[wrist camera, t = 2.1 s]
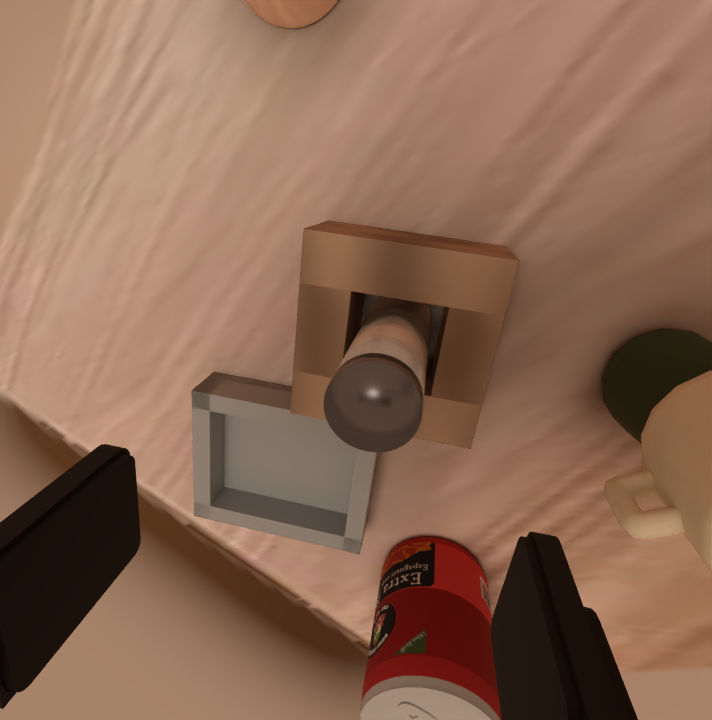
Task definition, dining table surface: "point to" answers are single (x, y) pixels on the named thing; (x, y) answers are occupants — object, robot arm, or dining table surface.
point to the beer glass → (291, 11)
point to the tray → (276, 466)
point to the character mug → (665, 435)
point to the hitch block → (413, 283)
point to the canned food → (431, 638)
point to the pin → (382, 378)
